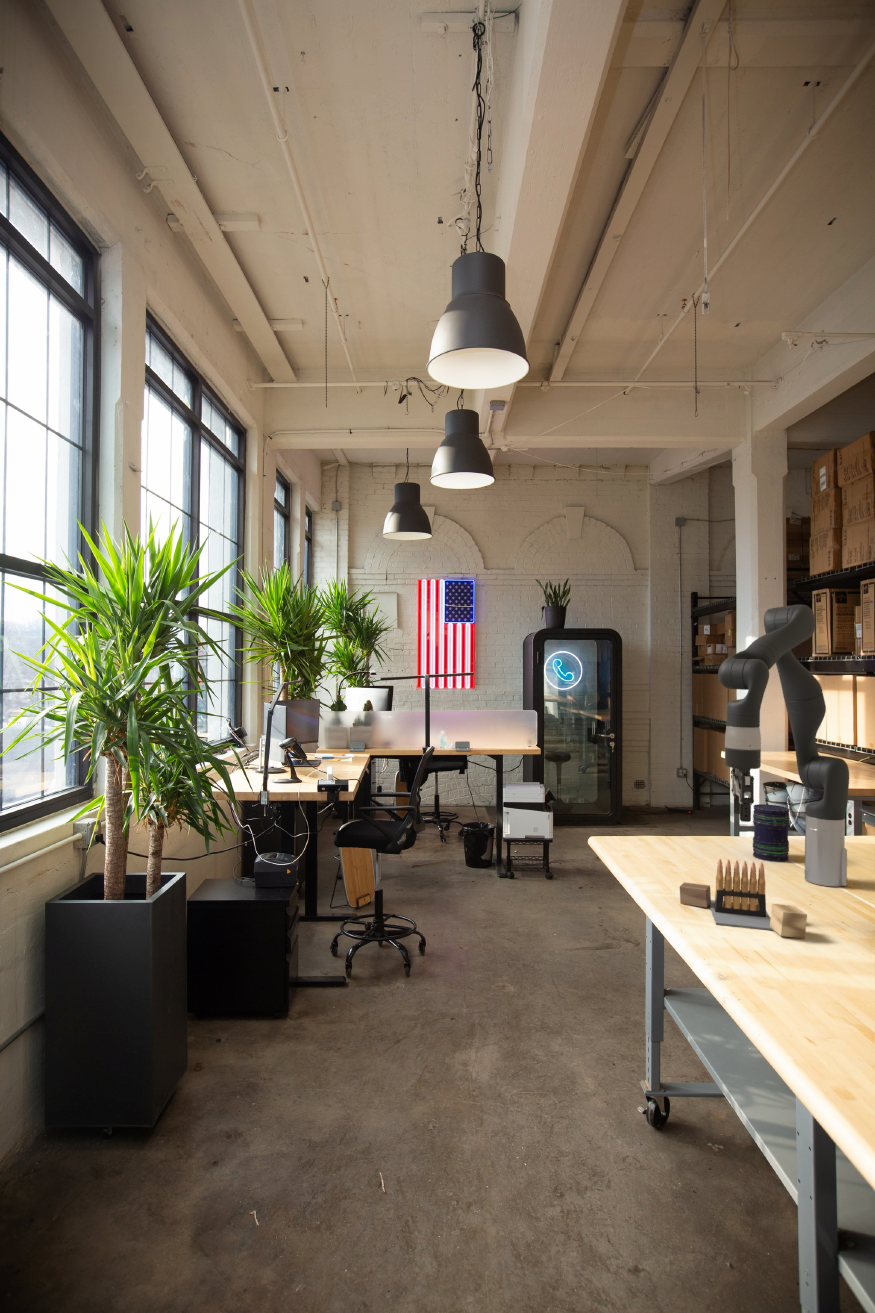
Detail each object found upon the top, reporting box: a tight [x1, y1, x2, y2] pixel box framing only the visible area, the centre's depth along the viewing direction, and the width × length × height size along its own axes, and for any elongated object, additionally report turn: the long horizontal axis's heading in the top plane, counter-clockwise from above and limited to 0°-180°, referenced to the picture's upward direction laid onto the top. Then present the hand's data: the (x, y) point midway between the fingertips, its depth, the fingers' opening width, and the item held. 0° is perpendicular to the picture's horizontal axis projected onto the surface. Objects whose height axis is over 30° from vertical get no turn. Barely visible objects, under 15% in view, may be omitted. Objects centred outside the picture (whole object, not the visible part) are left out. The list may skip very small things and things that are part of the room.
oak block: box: [770, 903, 808, 939], centre depth 150 cm, size 5×5×5 cm
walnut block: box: [679, 881, 712, 908], centre depth 167 cm, size 4×6×4 cm, turn 56°
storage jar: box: [752, 803, 790, 863], centre depth 211 cm, size 10×10×15 cm
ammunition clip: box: [714, 858, 767, 917], centre depth 160 cm, size 11×2×12 cm, turn 75°
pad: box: [708, 899, 774, 932], centre depth 160 cm, size 12×16×1 cm
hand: (741, 817), depth 161 cm, fingers open, 8 cm apart
